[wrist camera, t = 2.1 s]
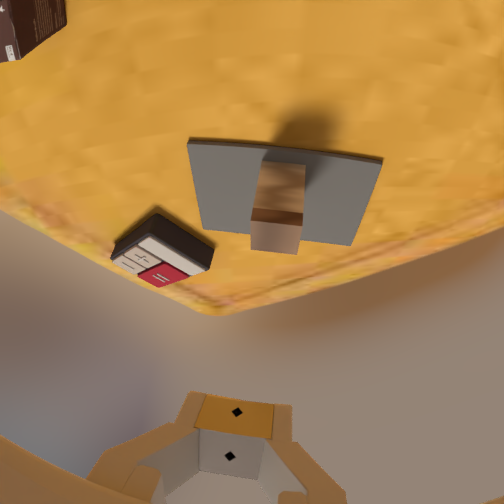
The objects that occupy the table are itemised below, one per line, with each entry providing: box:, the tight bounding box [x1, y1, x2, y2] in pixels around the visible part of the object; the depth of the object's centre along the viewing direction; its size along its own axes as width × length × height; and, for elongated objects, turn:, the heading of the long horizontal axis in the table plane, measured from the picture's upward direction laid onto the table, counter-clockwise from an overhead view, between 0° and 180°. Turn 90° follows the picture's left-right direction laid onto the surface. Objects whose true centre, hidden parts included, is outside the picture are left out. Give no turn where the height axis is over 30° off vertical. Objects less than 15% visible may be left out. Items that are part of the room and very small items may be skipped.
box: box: [0, 0, 66, 63], centre depth 16 cm, size 6×6×7 cm
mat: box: [187, 141, 382, 246], centre depth 37 cm, size 20×15×1 cm
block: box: [250, 160, 306, 255], centre depth 32 cm, size 4×4×8 cm
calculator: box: [110, 214, 214, 288], centre depth 50 cm, size 11×4×15 cm
